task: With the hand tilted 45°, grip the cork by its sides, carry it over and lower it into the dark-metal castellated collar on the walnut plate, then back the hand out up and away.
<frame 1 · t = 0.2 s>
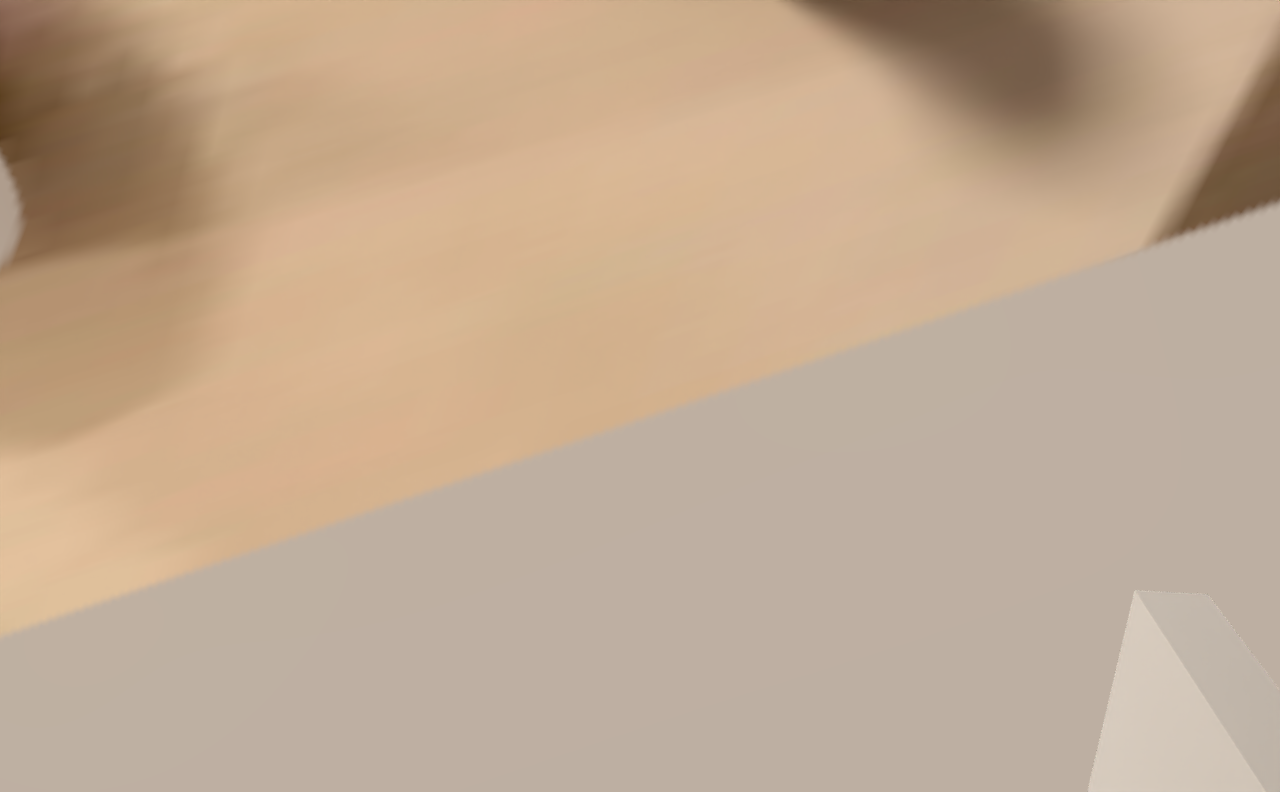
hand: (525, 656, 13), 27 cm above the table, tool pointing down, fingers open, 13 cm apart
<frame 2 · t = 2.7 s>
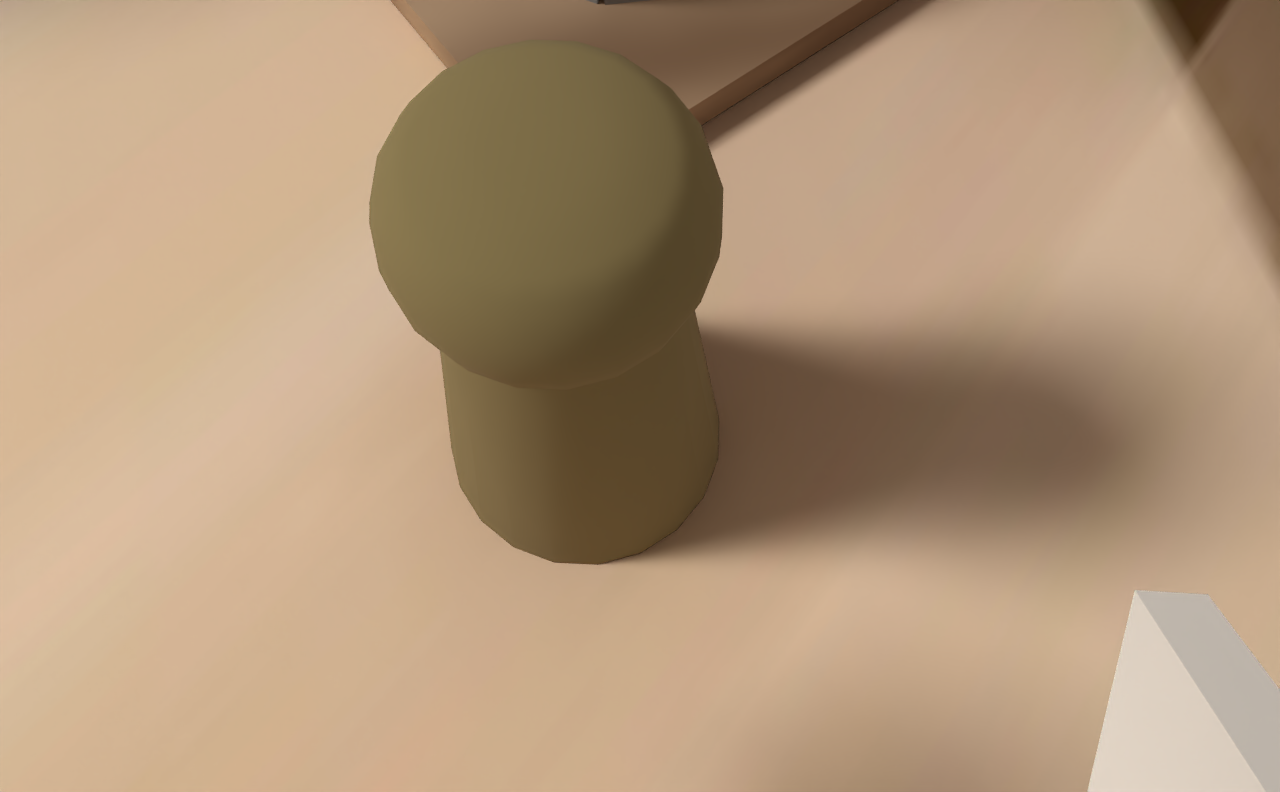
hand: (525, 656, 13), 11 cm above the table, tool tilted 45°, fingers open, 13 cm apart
cork: (586, 436, 25), on the table
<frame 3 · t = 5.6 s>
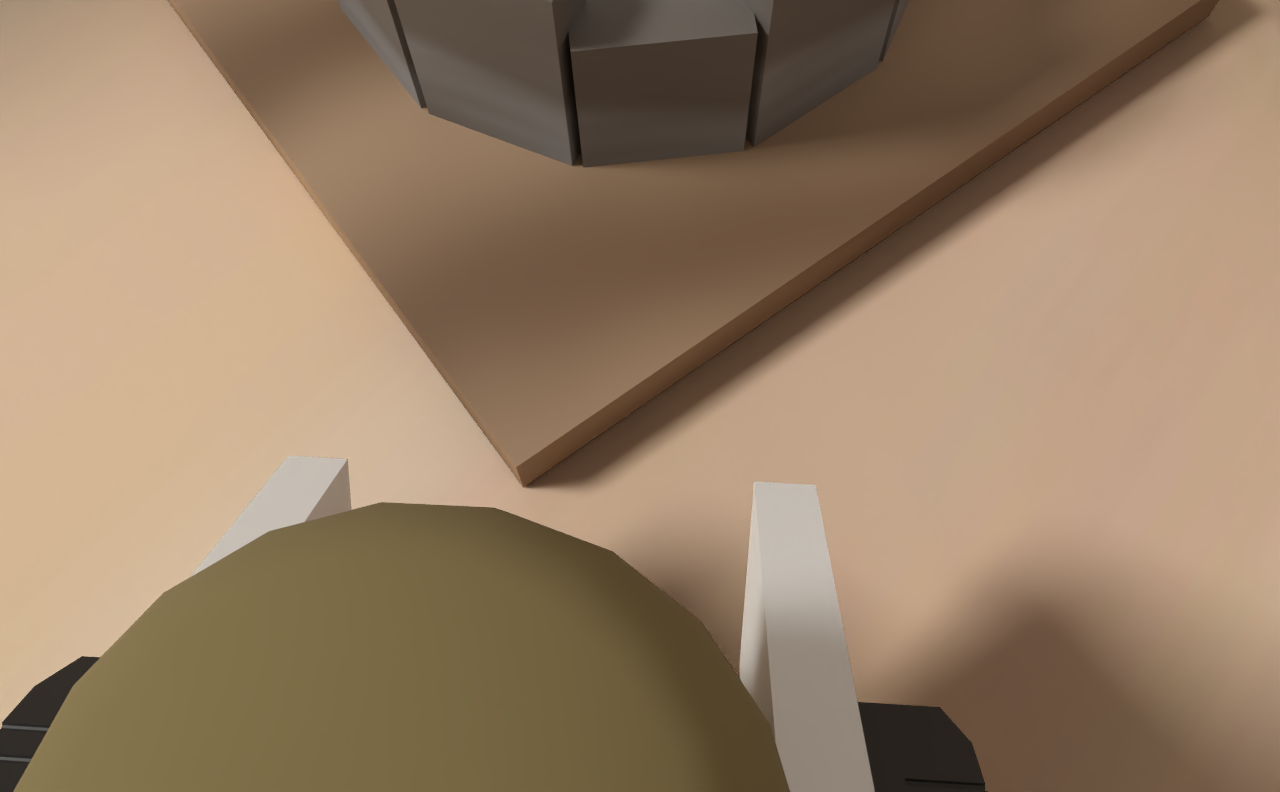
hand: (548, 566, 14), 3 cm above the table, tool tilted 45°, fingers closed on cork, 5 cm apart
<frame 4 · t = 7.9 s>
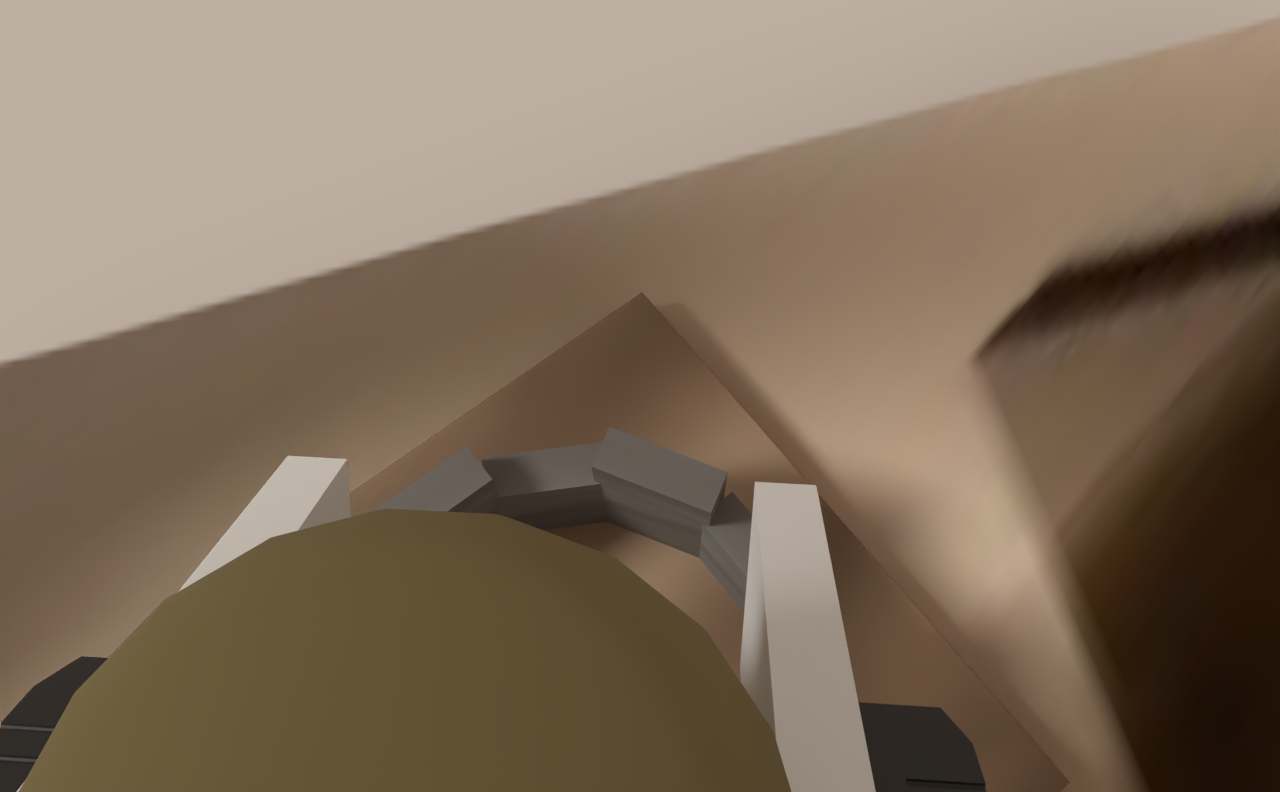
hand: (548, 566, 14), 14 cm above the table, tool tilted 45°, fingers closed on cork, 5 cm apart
collar: (581, 721, 27), on the table
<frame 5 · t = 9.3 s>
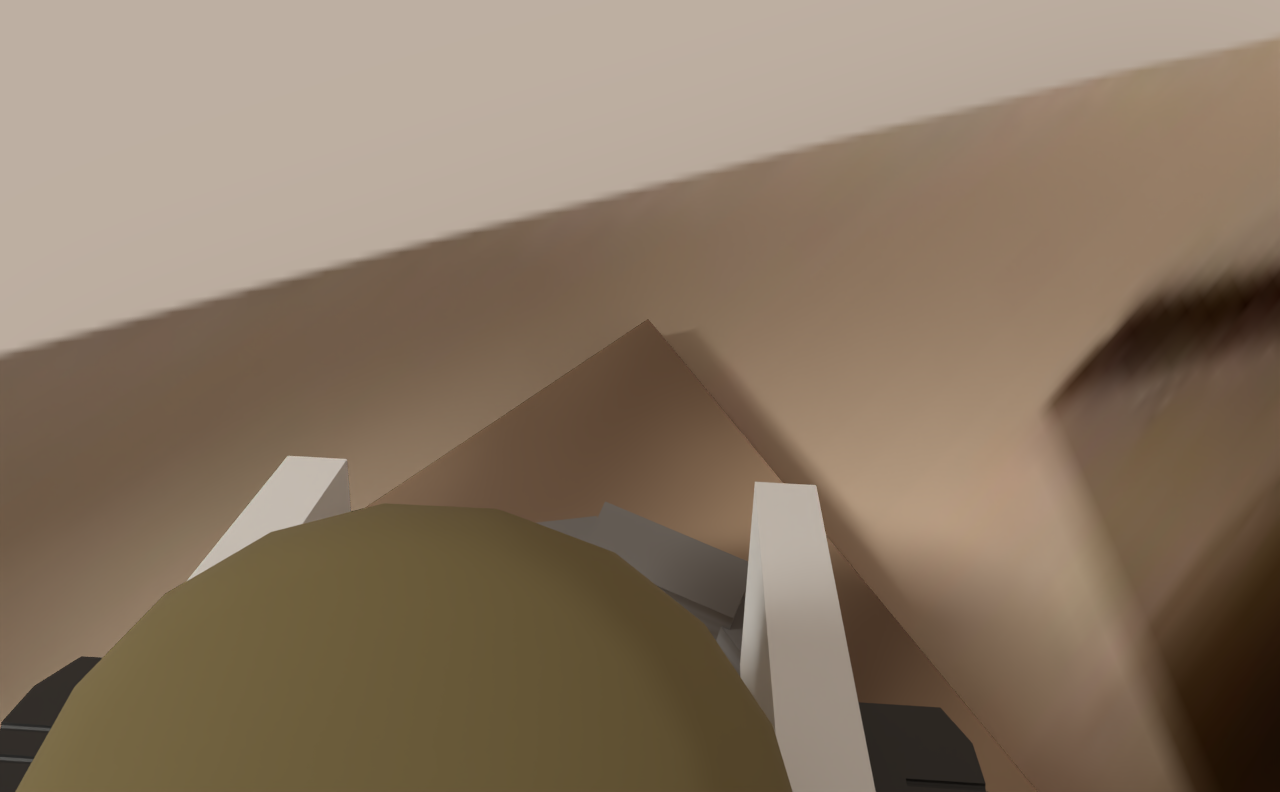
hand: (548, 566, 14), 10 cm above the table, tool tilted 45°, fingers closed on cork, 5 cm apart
when the fingers open (6 cm above the table, at t = 10.4 s): cork drops 2 cm, resting on collar.
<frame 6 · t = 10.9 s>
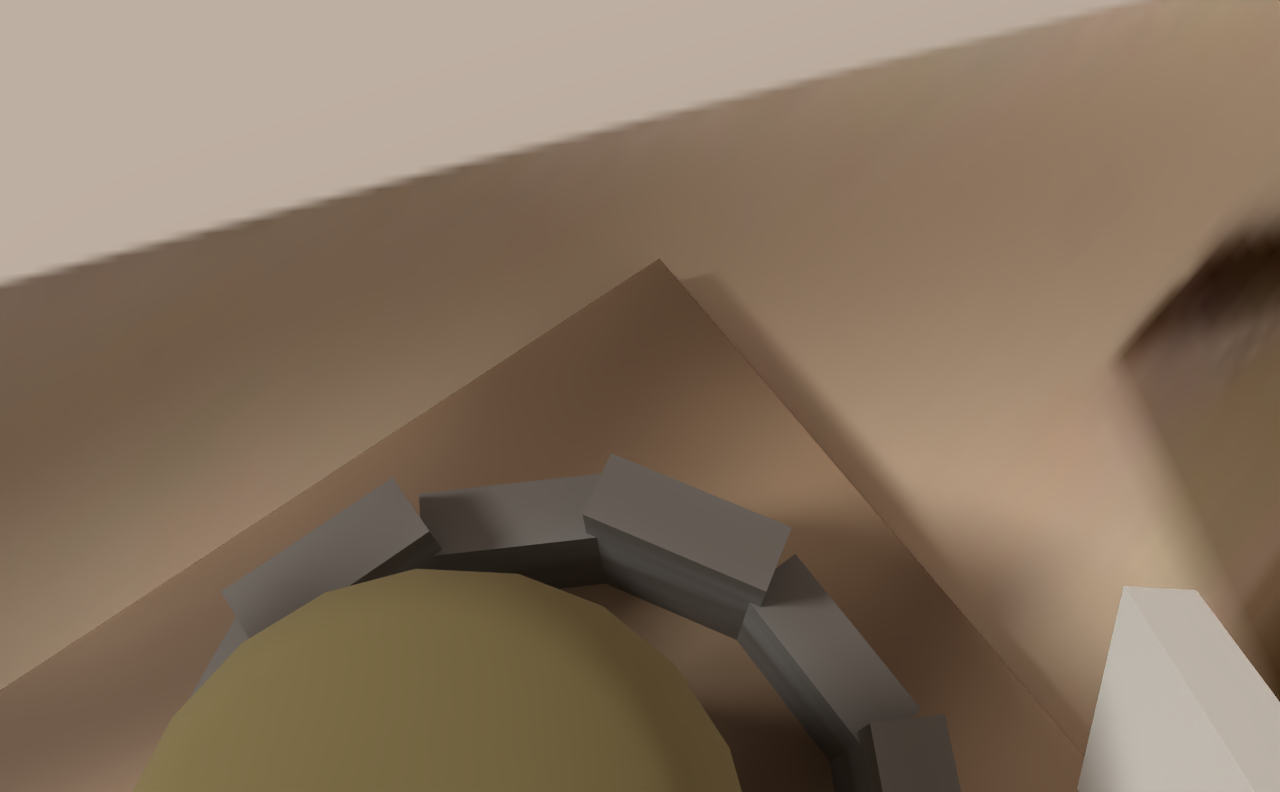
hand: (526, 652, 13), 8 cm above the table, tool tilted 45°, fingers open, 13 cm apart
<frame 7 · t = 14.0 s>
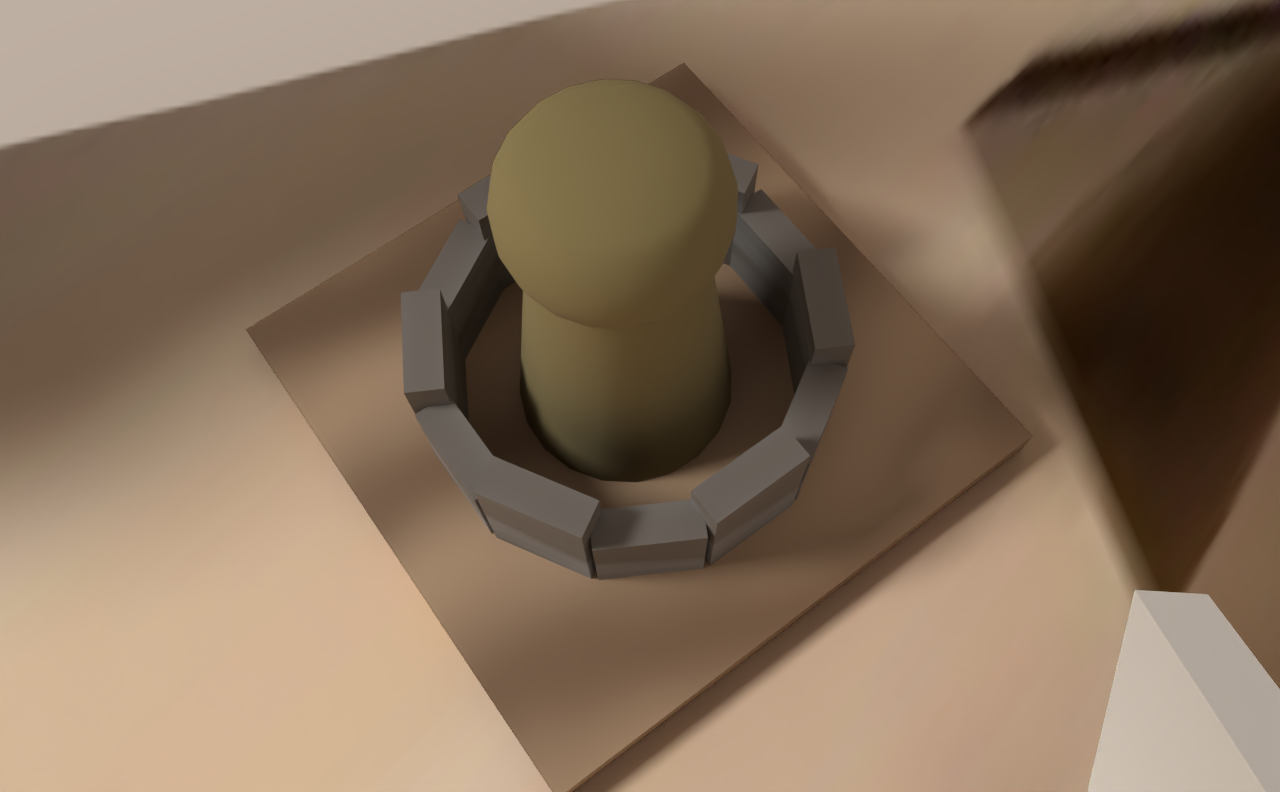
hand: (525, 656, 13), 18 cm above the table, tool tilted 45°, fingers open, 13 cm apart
collar: (629, 395, 33), on the table
cork: (626, 384, 32), point 1 cm above the table, touching collar
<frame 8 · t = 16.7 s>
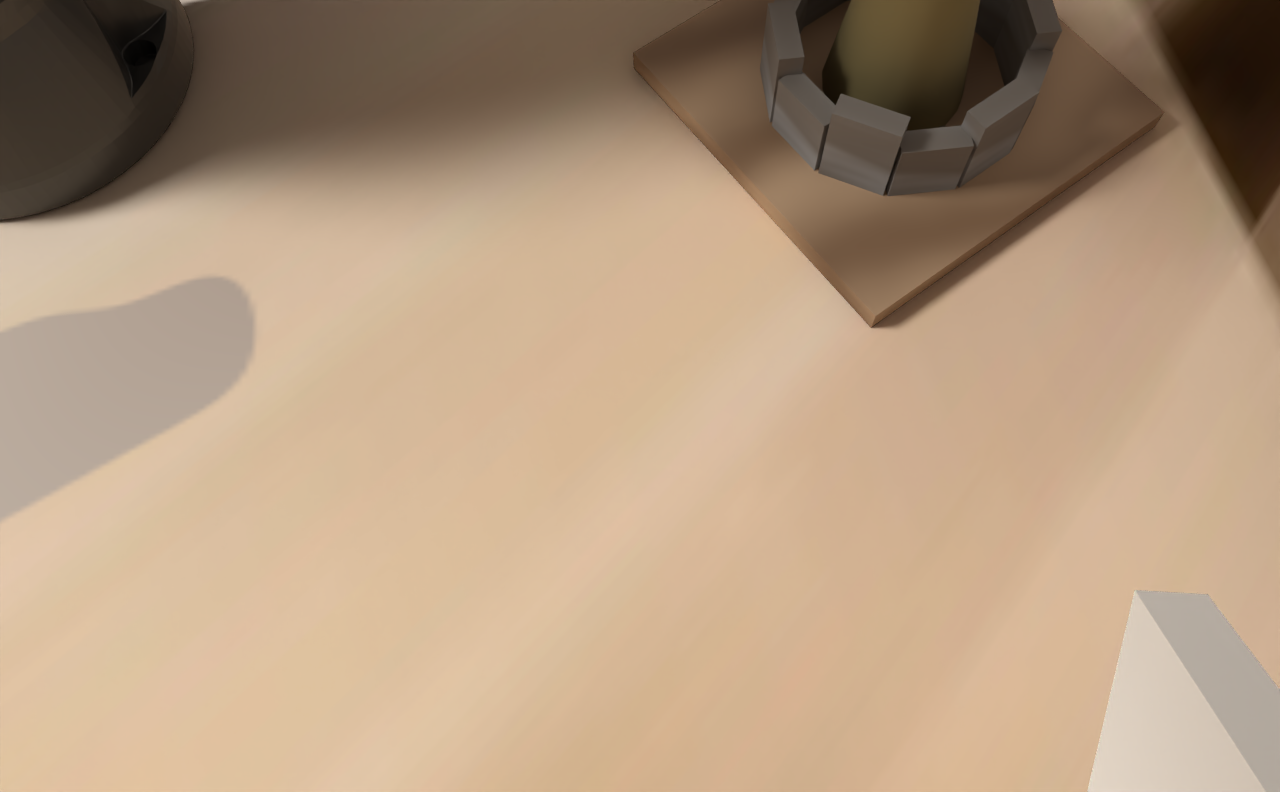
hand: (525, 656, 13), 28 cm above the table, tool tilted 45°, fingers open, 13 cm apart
collar: (889, 96, 49), on the table
cork: (891, 85, 48), point 1 cm above the table, touching collar
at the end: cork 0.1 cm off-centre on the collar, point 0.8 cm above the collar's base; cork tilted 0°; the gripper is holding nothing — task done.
